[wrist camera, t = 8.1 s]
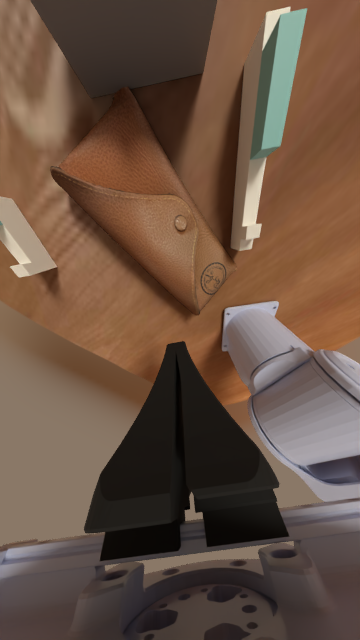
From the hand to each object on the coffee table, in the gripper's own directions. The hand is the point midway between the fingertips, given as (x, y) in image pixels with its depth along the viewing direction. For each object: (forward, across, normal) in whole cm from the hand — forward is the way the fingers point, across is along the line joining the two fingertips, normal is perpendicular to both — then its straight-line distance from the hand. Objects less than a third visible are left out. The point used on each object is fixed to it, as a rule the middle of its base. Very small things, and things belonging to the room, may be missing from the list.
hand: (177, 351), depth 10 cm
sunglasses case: (+11, -1, -7) cm, 13 cm away
